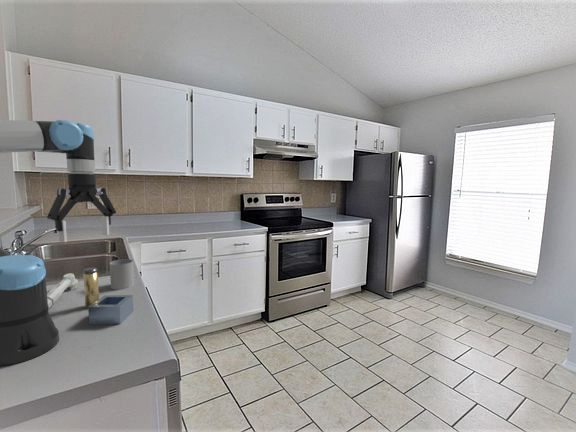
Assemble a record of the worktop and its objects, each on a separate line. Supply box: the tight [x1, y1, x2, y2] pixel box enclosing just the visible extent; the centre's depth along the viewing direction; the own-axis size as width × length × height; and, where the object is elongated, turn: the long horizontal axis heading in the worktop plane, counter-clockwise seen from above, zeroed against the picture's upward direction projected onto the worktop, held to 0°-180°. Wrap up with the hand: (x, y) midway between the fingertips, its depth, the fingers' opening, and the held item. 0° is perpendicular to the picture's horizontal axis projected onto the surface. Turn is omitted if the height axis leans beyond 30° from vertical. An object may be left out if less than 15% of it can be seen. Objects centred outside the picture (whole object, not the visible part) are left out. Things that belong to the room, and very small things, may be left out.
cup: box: [109, 258, 135, 290], centre depth 123 cm, size 8×8×10 cm
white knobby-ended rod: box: [47, 272, 79, 310], centre depth 110 cm, size 5×7×25 cm
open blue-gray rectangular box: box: [87, 294, 134, 326], centre depth 95 cm, size 9×9×6 cm
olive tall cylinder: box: [82, 267, 100, 310], centre depth 103 cm, size 4×4×13 cm
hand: (85, 237), depth 100 cm, fingers open, 13 cm apart
